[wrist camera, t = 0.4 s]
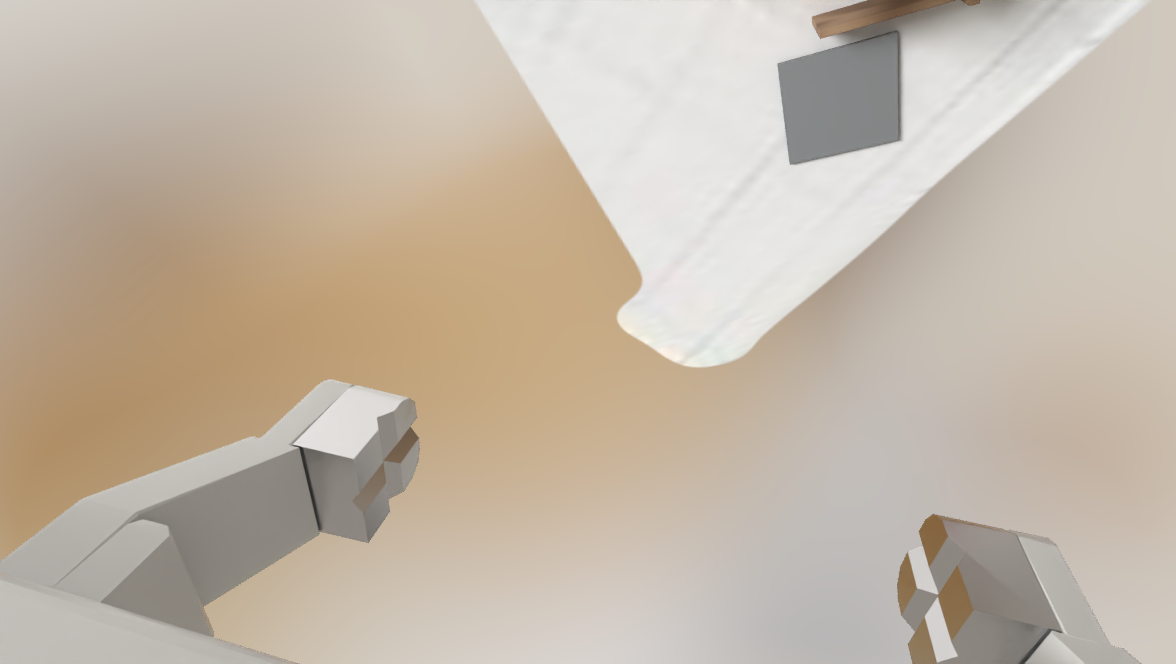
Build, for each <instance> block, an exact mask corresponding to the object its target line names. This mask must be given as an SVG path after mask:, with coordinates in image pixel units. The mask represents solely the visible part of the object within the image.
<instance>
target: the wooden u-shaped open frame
mask: <svg viewBox="0 0 1176 664" xmlns="http://www.w3.org/2000/svg"><path fill="white" fill-rule="evenodd" d="M952 1H956V0H868V1H864V2H861V3H857V4H854V5H851V6H847V7H844V8H840V9H837V10H834V11H830V12H827V13H823V14H820V15H817V16H813V17H812V23H813V26H814V28H815V30H816V32H817V34H818V35H819V37H820V39H821V38H825V37H828V36H832V35H835V34H839V33H842V32H846V31H849V30H853V29H856V28H860V27H864V26H867V25H871V24H874V23H878V22H881V21H885V20H888V19H892V18H895V17H899V16H902V15H906V14H910V13H913V12H917V11H920V10H924V9H927V8H931V7H934V6H938V5H941V4H945V3H948V2H952ZM962 1H963V2H965V3H966V4H967V5H969V6H971V5H975V4H979V3H980V0H962Z"/></svg>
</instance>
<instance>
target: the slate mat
mask: <svg viewBox="0 0 1176 664" xmlns="http://www.w3.org/2000/svg"><path fill="white" fill-rule="evenodd" d="M778 72H779V80H780V88H781V96H782V104H783V113H784V121H785V129H786V137H787V145H788V153H789V162H790V165H791V164H795V163H800V162H804V161H809V160H813V159H818V158H822V157H826V156H831V155H835V154H840V153H844V152H849V151H853V150H857V149H862V148H866V147H871V146H875V145H880V144H884V143H889V142H893V141H897V140H898V32H897V31H894V32H890V33H887V34H883V35H879V36H876V37H872V38H869V39H865V40H861V41H858V42H854V43H850V44H847V45H843V46H840V47H836V48H832V49H829V50H825V51H822V52H818V53H814V54H811V55H807V56H803V57H800V58H796V59H793V60H789V61H785V62H782V63H778Z"/></svg>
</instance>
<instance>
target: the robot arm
mask: <svg viewBox="0 0 1176 664" xmlns="http://www.w3.org/2000/svg"><path fill="white" fill-rule="evenodd" d="M416 418H417V414H416V407H415V402H414V401H413V400H411V399H410V398H407V397H403V396H399V395H395V394H391V393H387V392H383V391H379V390H375V389H371V388H367V387H363V386H359V385H352V384H348V383H344V382H340V381H336V380H332V379H329V380H326V381H322V382H321V383H319V385H317V386H316V387H315V388H314V389H313V390H312V391H311V392H310V393H309V394H308V395H307V396H305V397H304V398H303V399H302V400H301V401H300V402H299V403H298V404H297V405H296V406H295V407H294V408H293V409H291V410H290V411H289V412H288V413H287V414H286V415H285V416H284V417H283V418H282V419H281V420H280V421H278V422H277V423H276V424H275V425H274V426H273V427H272V428H271V429H270V430H269V431H268V432H267V433H266V434H264V435H263V436H262V437H261V438H258V437H254V436H251V437H248V438H246V439H243V440H240V441H238V442H235V443H232V444H230V445H227V446H224V447H221V448H218V449H216V450H213V451H210V452H207V453H205V454H202V455H200V456H197V457H194V458H191V459H189V460H186V461H183V462H180V463H178V464H175V465H172V466H169V467H167V468H164V469H161V470H159V471H156V472H153V473H150V474H148V475H145V476H142V477H139V478H137V479H134V480H131V481H129V482H126V483H123V484H120V485H118V486H115V487H112V488H109V489H107V490H104V491H101V492H98V493H96V494H93V495H90V496H88V497H85V498H82V499H80V500H79V501H78V502H76V503H75V504H74V505H73V506H71V507H70V508H69V509H67V510H66V511H65V512H64V513H62V514H61V515H60V516H58V517H57V518H56V519H55V520H53V521H52V522H51V523H49V524H48V525H47V526H45V527H44V528H43V529H41V530H40V531H39V532H38V533H36V534H35V535H34V536H32V537H31V538H30V539H29V540H27V541H26V542H25V543H23V544H22V545H21V546H19V547H18V548H17V549H16V550H14V551H13V552H12V553H10V554H9V555H8V556H7V557H5V558H4V559H3V560H1V561H0V664H298V663H295V662H292V661H288V660H285V659H282V658H278V657H275V656H272V655H269V654H266V653H262V652H259V651H256V650H253V649H249V648H246V647H243V646H239V645H236V644H233V643H230V642H227V641H223V640H220V639H217V638H214V631H213V628H212V626H211V624H210V621H209V619H208V617H207V615H206V612H205V610H204V608H203V607H204V606H205V605H207V604H209V603H210V602H212V601H214V600H215V599H217V598H218V597H220V596H221V595H223V594H225V593H226V592H228V591H229V590H231V589H233V588H234V587H236V586H238V585H239V584H241V583H242V582H244V581H246V580H247V579H249V578H250V577H252V576H254V575H255V574H257V573H258V572H260V571H262V570H263V569H265V568H267V567H268V566H270V565H271V564H273V563H274V562H276V561H278V560H279V559H281V558H283V557H284V556H286V555H287V554H289V553H291V552H292V551H293V550H295V549H297V548H298V547H300V546H302V545H303V544H305V543H307V542H308V541H310V540H312V539H313V538H315V537H316V536H318V535H319V534H320V533H319V532H324V533H328V534H332V535H336V536H341V537H345V538H349V539H353V540H358V541H362V542H366V543H369V541H370V540H371V538H372V537H373V536H374V534H375V533H376V531H377V530H378V528H379V527H380V525H381V524H382V522H383V521H384V520H385V518H386V517H387V515H388V514H389V512H390V509H389V500H388V499H390V498H392V497H394V496H396V495H398V494H400V493H402V492H404V490H405V489H406V487H407V485H408V484H409V482H410V481H411V479H412V477H413V475H414V472H415V469H416V467H417V464H418V460H419V451H420V445H419V437H418V436H417V435H416V433H415V432H414V431H413V430H412V428H411V427H410V426H411V425H412V424H413V422H414V421H415V420H416ZM919 534H920V537H921V541H922V545H921V546H919V547H917V548H914V549H912V550H911V551H908V552H907V554H906V556H905V558H904V560H903V562H902V564H901V566H900V572H899V578H898V584H897V589H898V602H899V607H900V611H901V616H902V617H903V618H904V619H905V620H906V621H907V623H908V624H909V625H910V626H911V627H912V628H913V630H914V631H915V633H914V635H913V637H912V638H911V640H910V642H909V643H908V646H909V651H910V655H911V659H912V663H913V664H1141V663H1140V662H1139V661H1138V660H1136V659H1135V658H1134V657H1133V656H1132V655H1131V654H1129V653H1128V652H1127V651H1126V650H1125V649H1123V648H1119V647H1115V646H1111V645H1110V643H1109V641H1108V639H1107V637H1106V635H1105V633H1104V632H1103V630H1102V628H1101V626H1100V624H1099V622H1098V620H1097V619H1096V617H1095V615H1094V613H1093V611H1092V610H1091V608H1090V606H1089V604H1088V602H1087V600H1086V598H1085V596H1084V595H1083V593H1082V591H1081V589H1080V587H1079V585H1078V584H1077V582H1076V580H1075V578H1074V576H1073V574H1072V572H1071V570H1070V568H1069V567H1068V565H1067V563H1066V561H1065V559H1064V557H1063V556H1062V554H1061V552H1060V550H1059V548H1058V546H1057V545H1056V544H1055V543H1054V542H1052V541H1051V540H1050V539H1049V538H1046V537H1041V536H1037V535H1032V534H1027V533H1022V532H1017V531H1012V530H1004V529H1001V528H996V527H991V526H986V525H982V524H977V523H973V522H968V521H963V520H959V519H953V518H949V517H945V516H939V515H935V514H932V515H931V516H930V517H928V518H927V519H926V520H925V521H924V523H923V525H922V527H921V528H920V530H919Z"/></svg>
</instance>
